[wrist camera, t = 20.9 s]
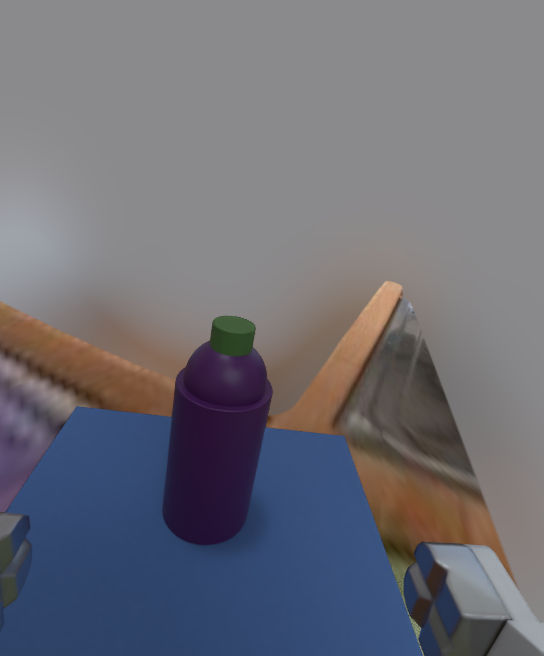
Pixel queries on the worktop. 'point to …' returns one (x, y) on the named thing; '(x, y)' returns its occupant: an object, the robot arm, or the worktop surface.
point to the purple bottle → (216, 435)
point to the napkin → (199, 555)
